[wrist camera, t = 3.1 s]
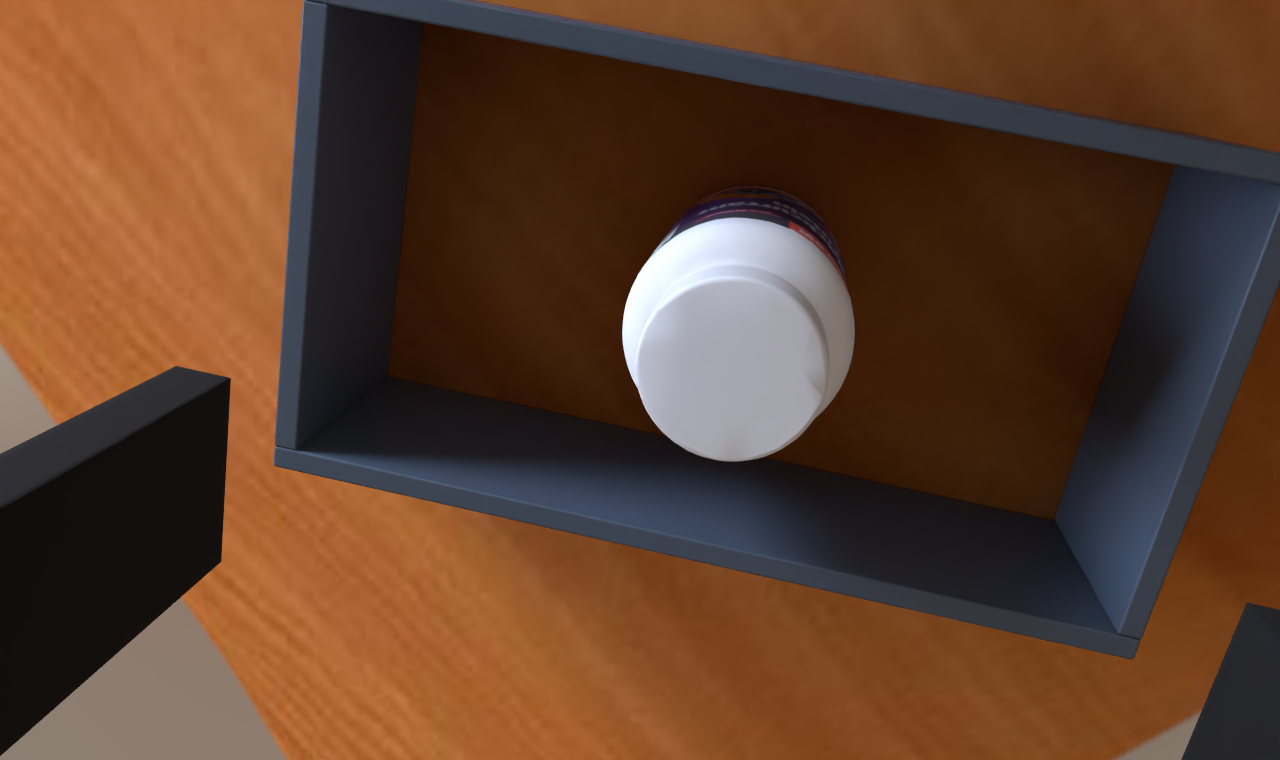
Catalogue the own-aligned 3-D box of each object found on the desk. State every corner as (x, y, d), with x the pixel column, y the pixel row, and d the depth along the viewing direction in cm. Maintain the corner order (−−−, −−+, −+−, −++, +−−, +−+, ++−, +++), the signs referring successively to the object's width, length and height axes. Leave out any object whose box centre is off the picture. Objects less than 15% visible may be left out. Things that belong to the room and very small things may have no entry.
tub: (368, 389, 33) (272, 466, 27) (406, -13, 29) (304, -29, 23) (1066, 541, 31) (1134, 661, 25) (1207, 137, 27) (1328, 163, 21)
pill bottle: (874, 224, 29) (912, 304, 20) (798, 389, 31) (800, 533, 22) (697, 153, 29) (654, 201, 20) (631, 322, 31) (564, 436, 22)
